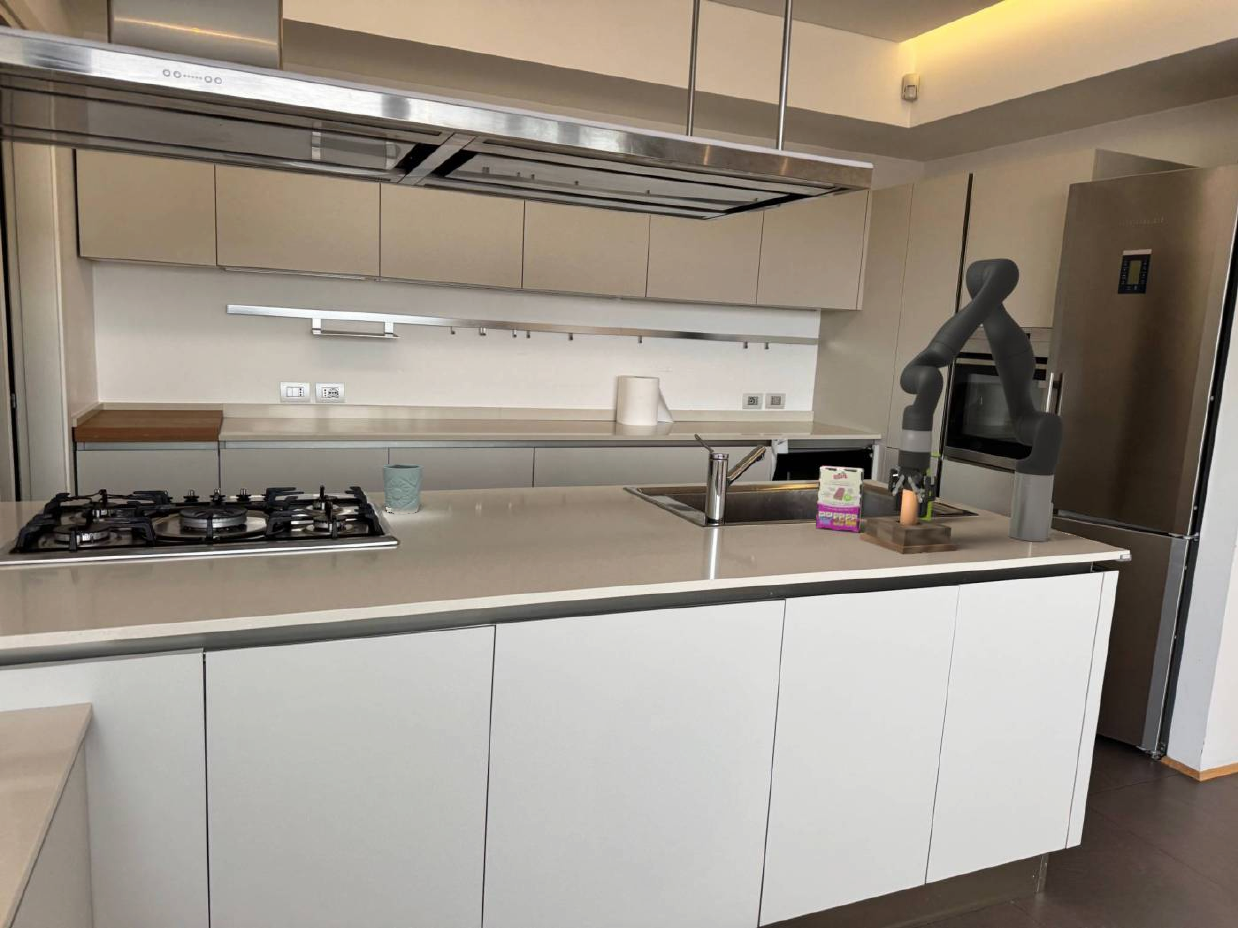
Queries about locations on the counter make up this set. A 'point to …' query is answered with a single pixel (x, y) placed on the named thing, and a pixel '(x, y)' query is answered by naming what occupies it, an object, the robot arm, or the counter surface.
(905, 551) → the socket block
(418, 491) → the teal embossed pot
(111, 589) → the counter surface
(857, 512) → the candy bar box
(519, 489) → the counter surface
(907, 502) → the wooden pin
